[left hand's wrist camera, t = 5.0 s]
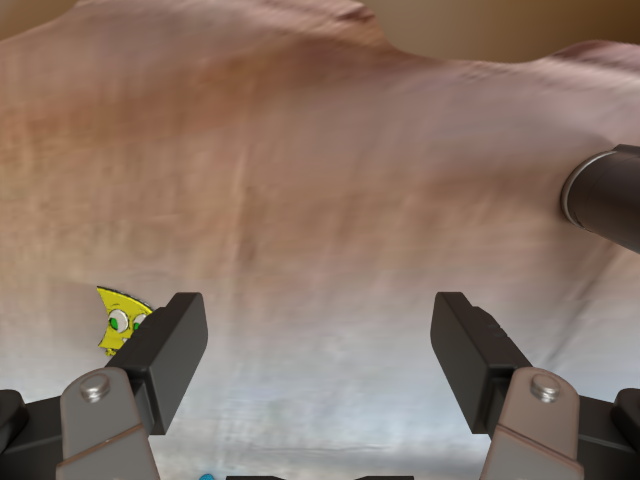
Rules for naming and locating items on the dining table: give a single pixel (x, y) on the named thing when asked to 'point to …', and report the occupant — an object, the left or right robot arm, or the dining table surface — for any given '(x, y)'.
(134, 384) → the left robot arm
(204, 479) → the toy
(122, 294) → the toy
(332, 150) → the dining table surface
